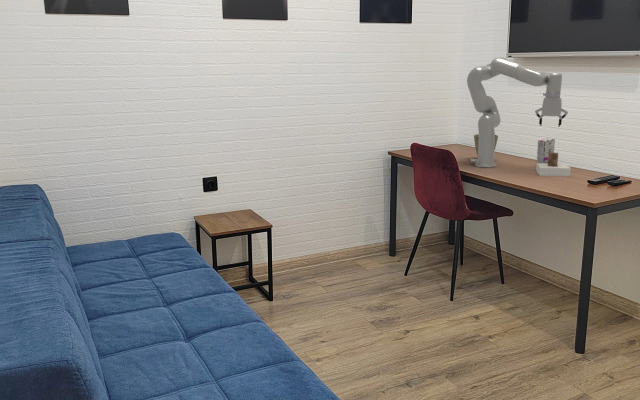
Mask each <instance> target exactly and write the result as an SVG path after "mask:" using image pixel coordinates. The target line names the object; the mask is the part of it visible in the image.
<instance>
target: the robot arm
mask: <svg viewBox="0 0 640 400" xmlns="http://www.w3.org/2000/svg"><path fill="white" fill-rule="evenodd" d="M498 75H503V76H506V77H509V78H511V79H515V80H517V81H519V82H521V83H524V84H526V85H529V86H533V87H542V86H546V89H545V90H546V91H545V92H543V94H542V95H543V96H545V97H543V100H542V107H541V108H538V109H536V110H534V112H535V115H536V117H538V120H539V122H538V124H539V126H543V125H542V123H543V117H558V118H559V119H558V127H559V128H560V126H562V121H563V119H565V117H566V116H567V115H568V113H569V112H568V110H565V109H564V108H562V104H563V103H562V102H563V101H562V98H561V91H562V82H563V74H562V73H560V72H544V71H541V72H540V71H539V72H537V71H534V70H531V69H528V68H525V67H524V66H523V65H522V64H521V63H518V62H514V61H511V60H509V59H508V58H506V57H504V56H503V57H502V56H501V57H495V58H494V59H492V60H491V62H490V63H488V64H486V65H483V66H482V65H481V66H476V67H474V68H473V69H471V70H470V71H469V73H468V75H467V77H466V84H467V88H468V91H469V93H470V96H471V100H472V103H473V107H474V109H475V111H476V112H478V113H480V114H481V113H482V115H481V116H480V118H479V119H478V121H477V129H478V134H479V142H478V156H477V158H470V160H469V162H470V163H475V164H474V166H475V167H478V168H495V167H497V163H495V161H494V160H495V151H494V147H495V135H496V133H495V131H496V130H495V128H497V127H499V126H500V123H501V115H500V113H499V109H498V105H497V103H496V101H495V100H494V98H493V97H491V96H489V95H487V93H486V90H485V89H486V88H485V87H484V85H483V83H482V81H488V80H491V79H492V78H495V77H497V76H498ZM539 112H541V115H540V113H539ZM562 113H564V114H563V115H562ZM495 148H496V147H495Z"/></svg>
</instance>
